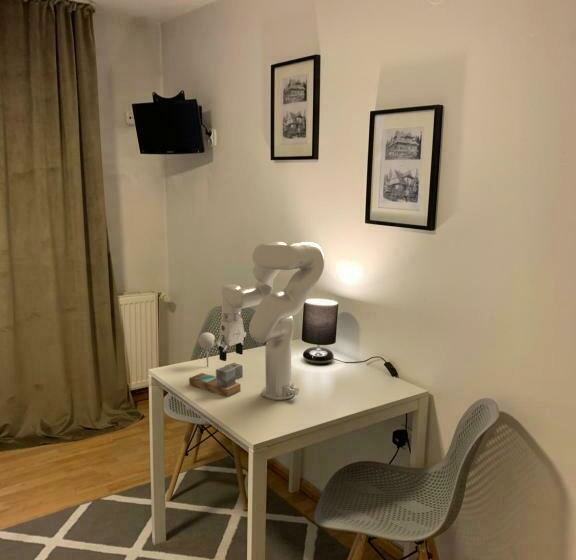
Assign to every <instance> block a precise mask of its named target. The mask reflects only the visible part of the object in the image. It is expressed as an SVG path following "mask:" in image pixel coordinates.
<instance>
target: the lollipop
mask: <svg viewBox="0 0 576 560" xmlns="http://www.w3.org/2000/svg"><path fill="white" fill-rule="evenodd" d="M197 342H198V345H199V347H200V348H201V349H203V350H206V353H205V354H206V368H208V367H209V350H210V349H212V348H213V347H215V346H216V344H215V342H216V337H215V335H214V334H213V333H211V332H207V331H205V332H203V333H201V334H200V335H199V337H198V341H197Z"/></svg>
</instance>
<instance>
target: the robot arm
mask: <svg viewBox="0 0 576 560" xmlns="http://www.w3.org/2000/svg"><path fill="white" fill-rule="evenodd" d="M252 261H253V262H252V263H254V266H253V267H252V274H253V277H254V278H255V279H256V280H257V282H256V283H255V284H254V285H251V286H247V287H243V288H242V287H241V285H238V284H236V283H235V284H233V283H230V284H229V283H228V284H225V285H223V286H222V288H221V316H220V319H221V321H220V327H219V337H218V339H217V340H215V346H216V348H217V350H218V351H219V357H218V358H219V360H220V361H222V362H226V361H227V351H226V350H227V349H228V347H232V346H235V354H237V355H243V353H244V351H243V350H244V346H243V345H244V344H245V340H246V336H247V332H246V331H245V327H244V321H243V320H244V319H243V318H242V309H243V310H244V309H246V308H250V307H255V306H257V308H256V309H255V311H254V314H253V316H252V317H251V319H250V322H249V326H248V329H249V330H248V331H249V334H250V337H251V338H252V340H254V341H255V342H258V343H265V342H266V345H265V357H264V358H265V387H263V388H262V390H261V395H262V396H263V398H266V399H269V400H273V401H275V400H276V401H283V400H289V399H292V398H294V396H298V395H299V392H300V388H298V387H296V386H295V385H294V384H295V383H294V382H292V345H293V344H292V340H293V334H294V329H295V320H294V317H293V316H295V315H297V314H299V313H300V311H301V310H302V308H303V306H304V305H305V303H306V301H307V300H308V298H309V296H310V294H311V292H312V291H313V289H314V287H315V286H316V285H317V282H319V280H320V279H321V276H322V274H323V271H324V269H325V256H324V252H323V249H322V248H321V247H320V245H319V244H317V243H314V242H312V241H301V242H295V243H288V244H286V243H285V242H283V241H271V242H264V243H259V244H258V245H256V247H255V248H254V249H253V252H252ZM291 270H296V271H295V272H294V273H293V274H292V276H291V277H290V278H289V280H288V281H287V284H286V286H285V287H284V288H283V289H281V290H279V291H275V292H273V290H274V279H275V278H276V276H277V275H279V273H280V272H281V271H291Z"/></svg>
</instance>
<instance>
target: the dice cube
mask: <svg viewBox="0 0 576 560" xmlns="http://www.w3.org/2000/svg"><path fill="white" fill-rule="evenodd" d="M224 366H228V367H231V368H235V378H236V380H239V379H242V378H243V373H244V371H243V365H242V364H239V363H236V362H232V363H229V364H226V365H224Z"/></svg>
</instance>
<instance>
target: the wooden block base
mask: <svg viewBox="0 0 576 560" xmlns="http://www.w3.org/2000/svg"><path fill="white" fill-rule="evenodd" d="M236 381H237V379H236V378H235V368H231V367H228V366H225V365H224V366H221V367H219V368H217V369H216V370H215V376H214V375H212V374H211V375H210V374H208V373H204V372H200V373H198V374H196V375H193V376H190V377H189V378H188V385H189V387H193V388H196V389H198V390H199V389H200V390H203V391H206V392H209V393H213V394H216V395H219V396H223V397H226V398H230V397H231V396H234V395H236V394H238V393H240V392H241V383H238V382H236Z"/></svg>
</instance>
